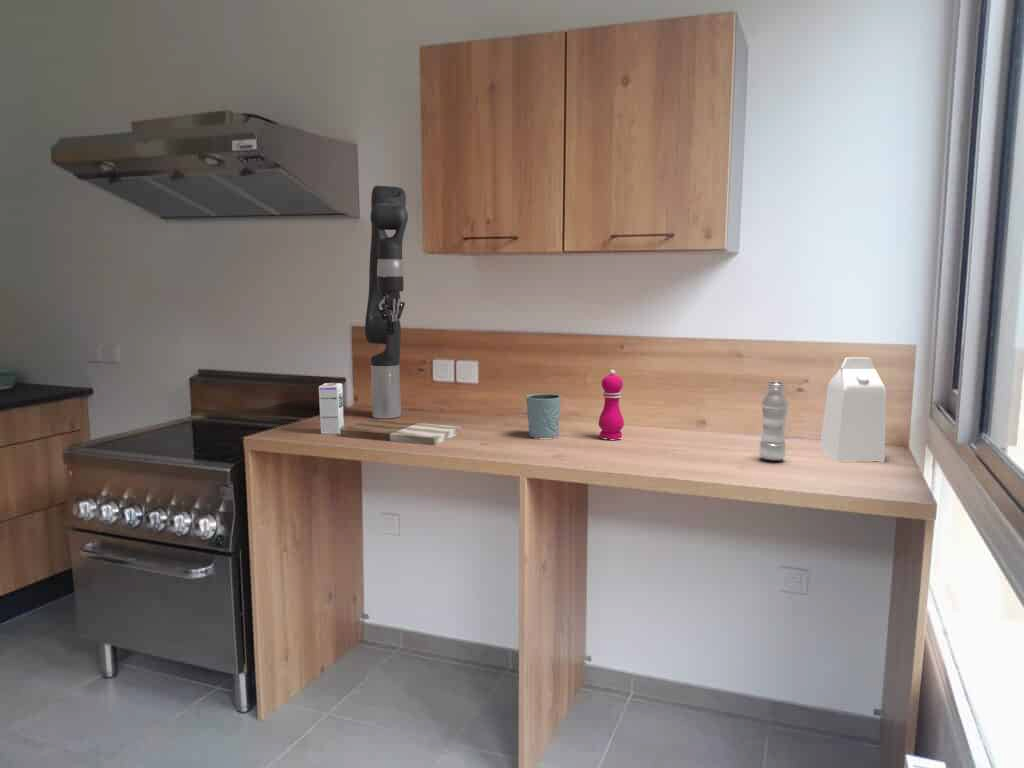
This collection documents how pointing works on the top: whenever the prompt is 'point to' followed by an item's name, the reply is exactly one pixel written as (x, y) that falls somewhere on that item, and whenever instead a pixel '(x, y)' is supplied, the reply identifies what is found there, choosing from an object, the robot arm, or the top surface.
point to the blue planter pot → (543, 415)
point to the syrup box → (331, 408)
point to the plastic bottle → (774, 423)
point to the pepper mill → (611, 407)
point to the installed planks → (374, 429)
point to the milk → (855, 413)
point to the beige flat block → (425, 433)
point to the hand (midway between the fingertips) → (391, 334)
